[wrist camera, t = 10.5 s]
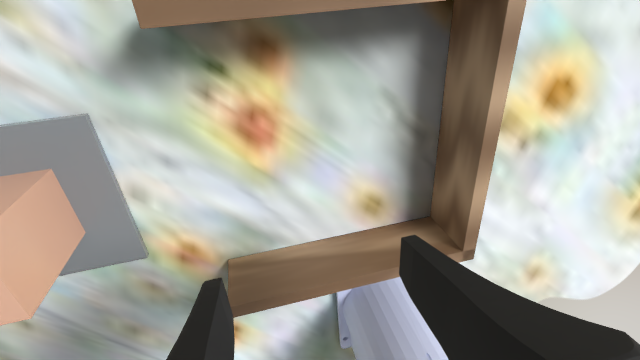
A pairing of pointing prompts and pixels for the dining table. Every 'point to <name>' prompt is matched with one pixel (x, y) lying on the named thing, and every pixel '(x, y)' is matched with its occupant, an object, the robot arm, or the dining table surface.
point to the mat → (77, 185)
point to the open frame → (451, 164)
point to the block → (33, 240)
